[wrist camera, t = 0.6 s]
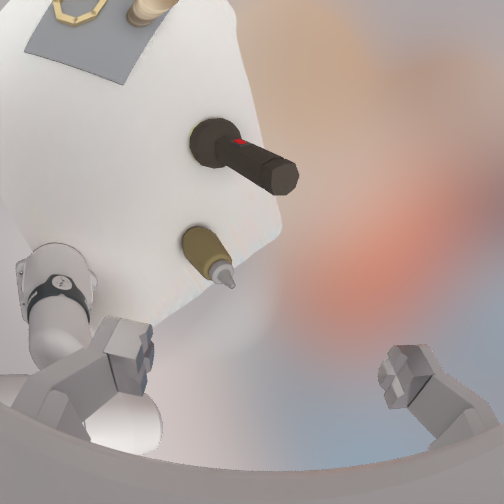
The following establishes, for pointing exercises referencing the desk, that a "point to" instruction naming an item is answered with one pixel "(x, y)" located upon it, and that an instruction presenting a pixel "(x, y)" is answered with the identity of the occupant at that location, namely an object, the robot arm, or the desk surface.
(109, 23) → the socket board
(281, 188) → the flashlight
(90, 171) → the desk surface
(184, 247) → the squeeze bottle
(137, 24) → the ash peg
